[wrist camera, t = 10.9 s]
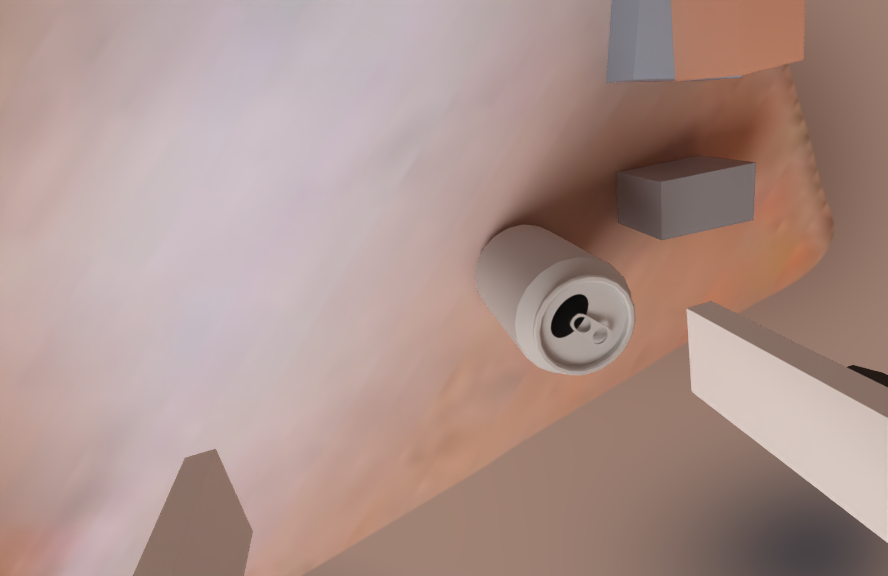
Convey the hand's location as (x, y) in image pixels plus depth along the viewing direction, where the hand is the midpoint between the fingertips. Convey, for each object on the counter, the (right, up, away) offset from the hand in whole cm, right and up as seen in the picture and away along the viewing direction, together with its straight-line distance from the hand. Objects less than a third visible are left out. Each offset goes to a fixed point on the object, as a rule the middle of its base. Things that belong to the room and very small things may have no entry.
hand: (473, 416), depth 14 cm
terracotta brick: (+16, +21, +20) cm, 33 cm away
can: (+5, +5, +27) cm, 28 cm away
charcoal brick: (+16, +11, +27) cm, 33 cm away
